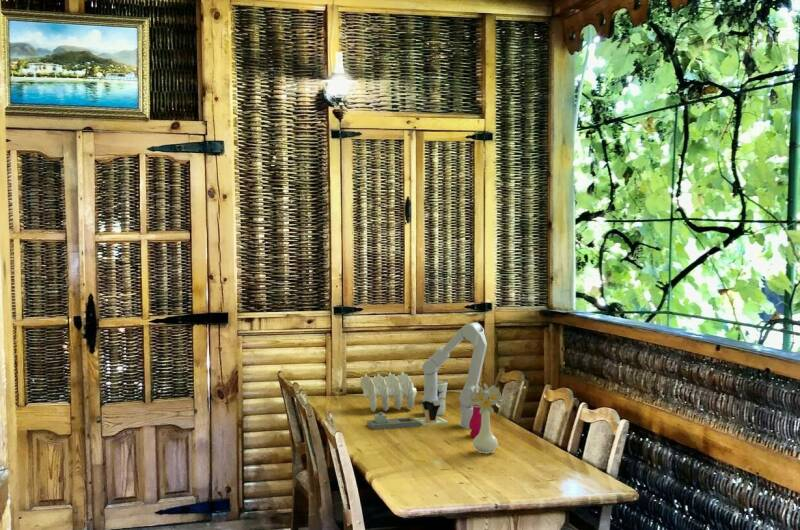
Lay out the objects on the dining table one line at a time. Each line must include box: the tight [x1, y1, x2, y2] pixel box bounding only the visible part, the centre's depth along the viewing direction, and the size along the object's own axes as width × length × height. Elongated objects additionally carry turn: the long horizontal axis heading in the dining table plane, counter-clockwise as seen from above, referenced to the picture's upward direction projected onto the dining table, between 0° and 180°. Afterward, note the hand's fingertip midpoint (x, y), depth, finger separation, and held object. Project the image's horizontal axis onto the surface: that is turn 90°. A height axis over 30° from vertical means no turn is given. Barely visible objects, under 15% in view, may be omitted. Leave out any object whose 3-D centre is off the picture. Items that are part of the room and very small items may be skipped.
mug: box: [437, 380, 449, 399], centre depth 420 cm, size 10×15×10 cm
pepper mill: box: [469, 386, 482, 438], centre depth 345 cm, size 7×7×20 cm
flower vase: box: [469, 382, 505, 455], centre depth 318 cm, size 13×18×25 cm
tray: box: [413, 416, 449, 427], centre depth 371 cm, size 12×12×1 cm
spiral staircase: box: [359, 371, 418, 413], centre depth 398 cm, size 18×18×25 cm
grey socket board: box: [366, 416, 420, 431], centre depth 363 cm, size 10×20×2 cm, turn 109°
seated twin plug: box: [374, 411, 388, 424], centre depth 361 cm, size 4×4×6 cm
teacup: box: [421, 397, 446, 417], centre depth 388 cm, size 14×11×8 cm
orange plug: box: [424, 410, 438, 423], centre depth 371 cm, size 4×4×6 cm
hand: (430, 419), depth 371 cm, fingers closed on orange plug, 4 cm apart
